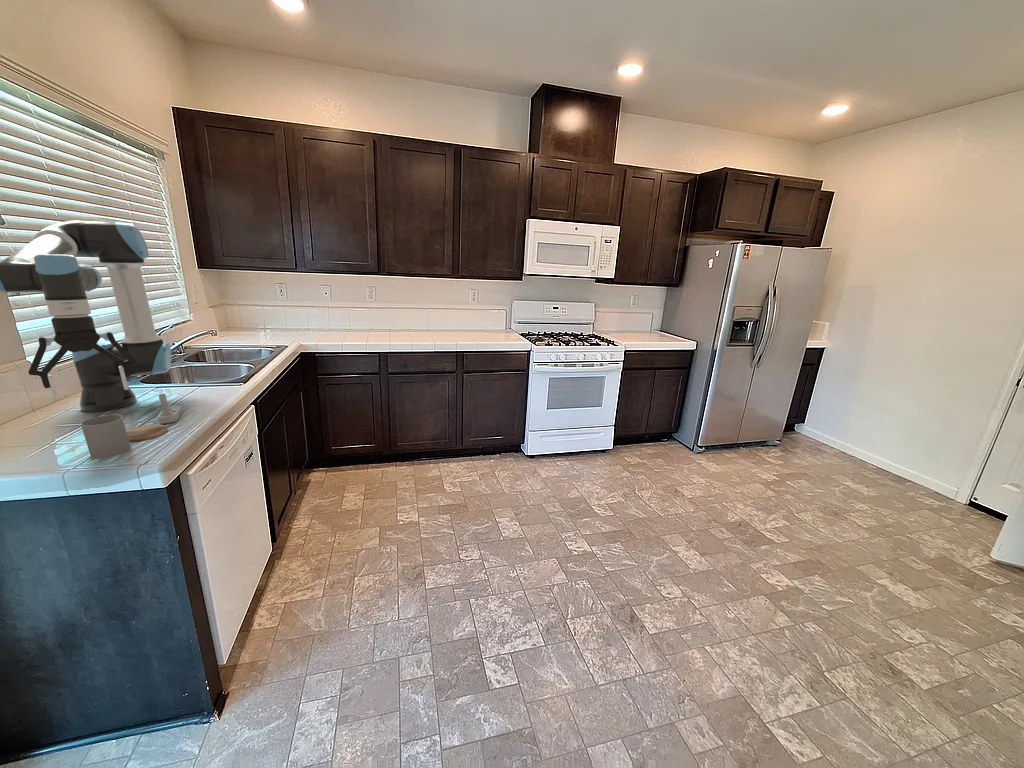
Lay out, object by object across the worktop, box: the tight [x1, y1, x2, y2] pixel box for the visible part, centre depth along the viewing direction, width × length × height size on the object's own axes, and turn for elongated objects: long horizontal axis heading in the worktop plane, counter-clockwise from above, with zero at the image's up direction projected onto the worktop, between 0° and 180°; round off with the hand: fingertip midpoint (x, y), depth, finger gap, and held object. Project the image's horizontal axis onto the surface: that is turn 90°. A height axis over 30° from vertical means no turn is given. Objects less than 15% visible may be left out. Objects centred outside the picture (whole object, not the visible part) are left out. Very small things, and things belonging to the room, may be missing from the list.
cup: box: [80, 413, 132, 460], centre depth 116 cm, size 8×8×10 cm
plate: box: [126, 423, 168, 443], centre depth 129 cm, size 12×12×1 cm
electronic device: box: [156, 393, 183, 425], centre depth 142 cm, size 5×10×15 cm
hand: (93, 393), depth 113 cm, fingers open, 13 cm apart
